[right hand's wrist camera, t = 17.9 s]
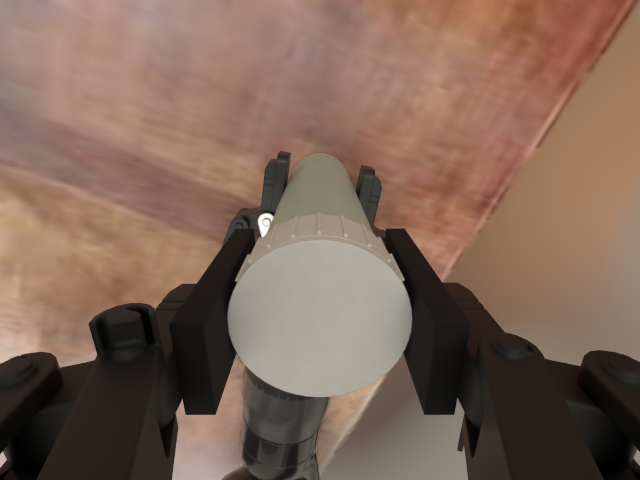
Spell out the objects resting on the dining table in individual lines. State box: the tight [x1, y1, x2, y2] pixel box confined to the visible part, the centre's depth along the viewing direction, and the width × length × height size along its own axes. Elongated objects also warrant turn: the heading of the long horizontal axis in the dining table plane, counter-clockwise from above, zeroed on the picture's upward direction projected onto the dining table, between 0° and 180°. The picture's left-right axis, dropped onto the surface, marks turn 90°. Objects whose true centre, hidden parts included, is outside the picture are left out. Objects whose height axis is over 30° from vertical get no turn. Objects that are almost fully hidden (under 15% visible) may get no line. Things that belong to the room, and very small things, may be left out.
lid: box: [227, 212, 412, 397], centre depth 11 cm, size 6×6×2 cm
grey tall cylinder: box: [267, 153, 373, 233], centre depth 20 cm, size 5×5×20 cm
